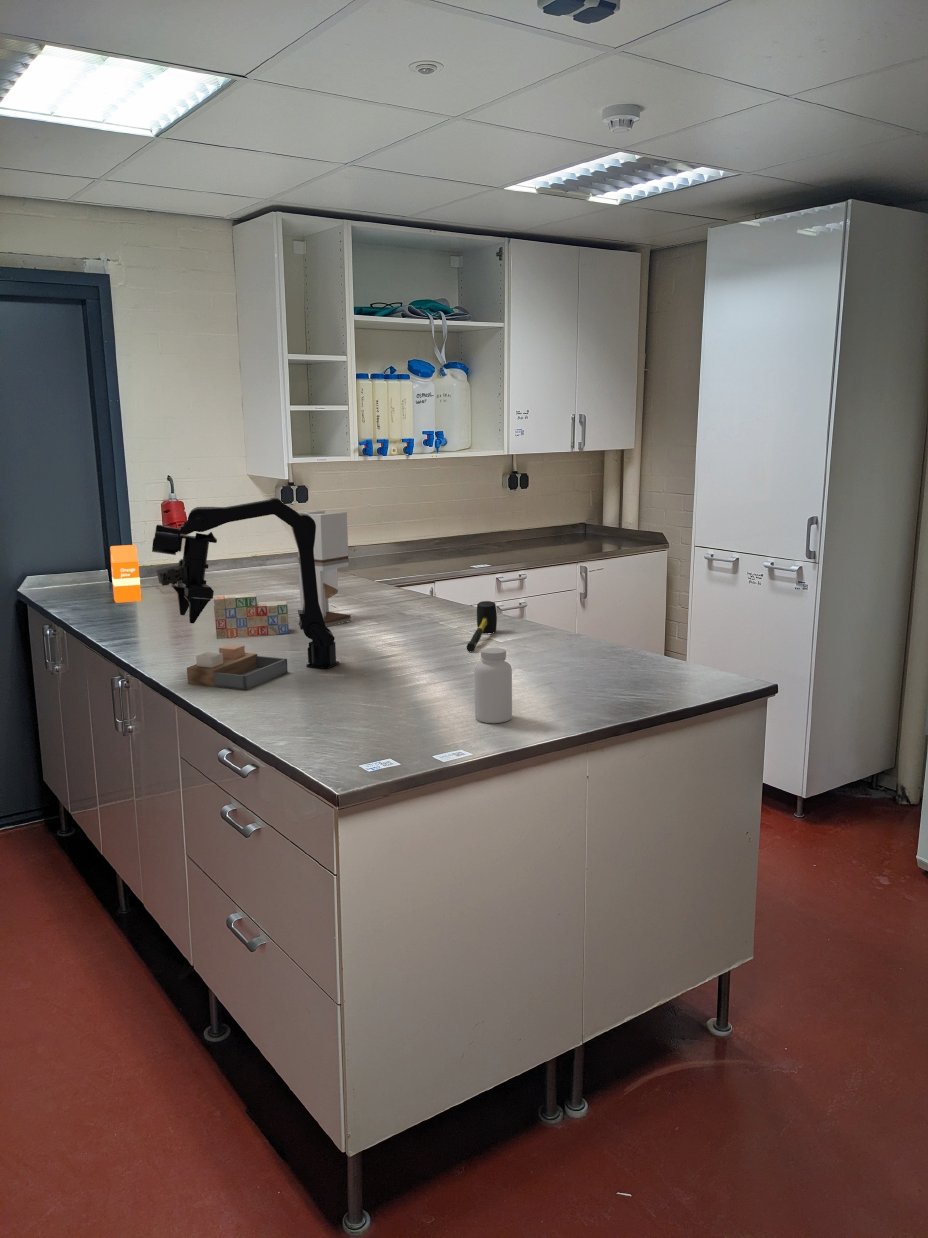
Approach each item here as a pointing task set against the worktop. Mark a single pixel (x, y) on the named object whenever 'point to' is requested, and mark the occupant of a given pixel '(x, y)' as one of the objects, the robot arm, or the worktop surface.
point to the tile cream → (209, 659)
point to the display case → (328, 560)
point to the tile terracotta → (232, 651)
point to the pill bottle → (493, 687)
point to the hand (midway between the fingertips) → (186, 619)
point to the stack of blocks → (249, 616)
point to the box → (253, 674)
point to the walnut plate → (221, 669)
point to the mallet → (484, 622)
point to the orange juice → (125, 573)
